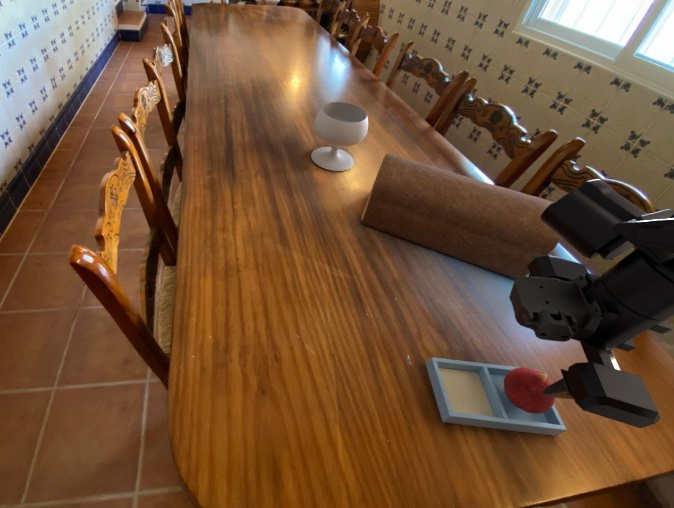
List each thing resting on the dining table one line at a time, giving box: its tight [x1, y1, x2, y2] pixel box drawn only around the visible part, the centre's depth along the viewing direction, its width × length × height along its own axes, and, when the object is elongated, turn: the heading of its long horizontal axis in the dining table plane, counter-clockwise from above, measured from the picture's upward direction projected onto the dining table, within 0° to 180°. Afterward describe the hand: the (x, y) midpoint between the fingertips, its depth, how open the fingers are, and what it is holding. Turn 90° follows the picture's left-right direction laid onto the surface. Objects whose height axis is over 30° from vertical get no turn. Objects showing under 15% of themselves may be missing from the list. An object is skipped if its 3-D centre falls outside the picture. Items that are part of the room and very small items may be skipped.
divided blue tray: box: [425, 356, 568, 437], centre depth 54 cm, size 8×16×2 cm, turn 85°
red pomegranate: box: [503, 366, 556, 414], centre depth 51 cm, size 6×6×8 cm
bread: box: [360, 153, 562, 280], centre depth 77 cm, size 14×34×14 cm, turn 63°
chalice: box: [310, 101, 369, 172], centre depth 97 cm, size 14×14×15 cm
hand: (535, 357), depth 46 cm, fingers open, 9 cm apart
